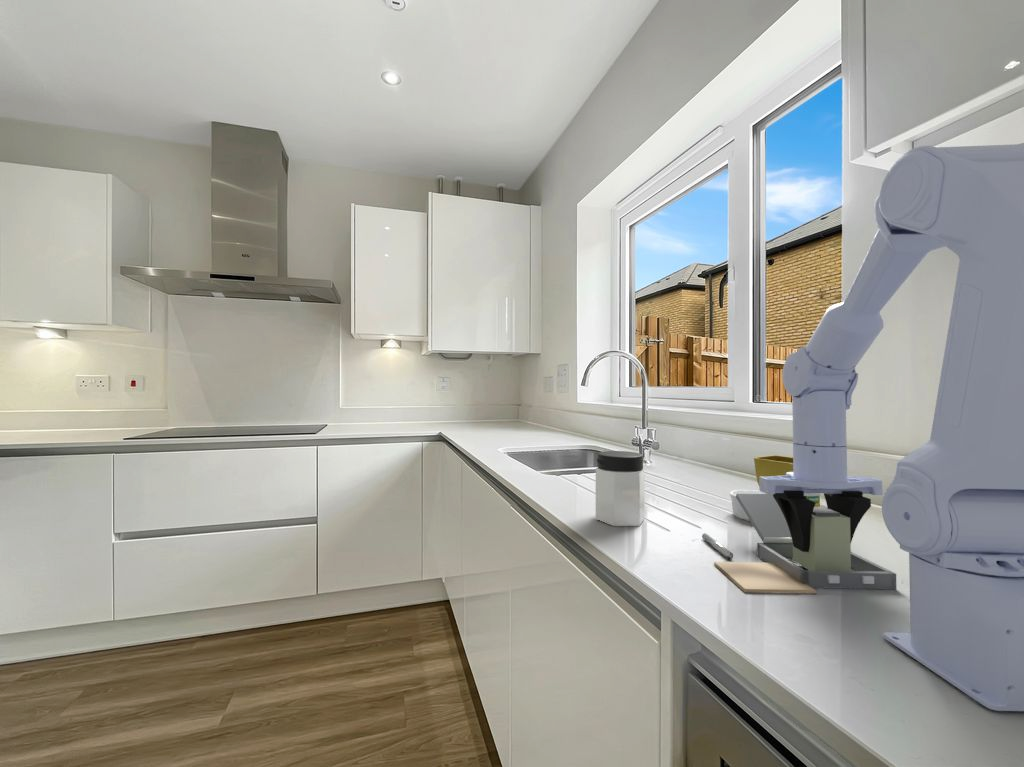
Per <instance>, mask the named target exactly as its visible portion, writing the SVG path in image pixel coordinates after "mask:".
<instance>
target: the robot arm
mask: <svg viewBox="0 0 1024 767" xmlns="http://www.w3.org/2000/svg"><path fill="white" fill-rule="evenodd" d="M873 204H874V206H873V207H874V208H873V210H874V212H873V213H874V219H875V222H876V226H877V227H878V229H877V232H876V234H875V235H874V238H873V240H872V242H871V244H870V246H869V248H868V251H867V253H866V255H865V257H864V259H863V261H862V264H861V266H860V267H859V269H858V272H857V273H856V275H855V278H854V280H853V283H852V284H851V286H850V289H849V290H848V293H847V295H846V297H845V299H844V301H842V302H839V303H836V304H833V305H830V306H829V307H828V308H826V311H825V312H824V314H823V316H822V317H821V320H820V321H819V323H818V324H817V326H816V328H815V330H814V331H813V334H812V335H811V337H810V338H809V340H808V342H807V343H806V346H802V347H801V346H800V347H799V348H798V349H797V351H794V352H791V353H789V355H788V356H787V357H786V359H785V362H784V363H783V367H782V373H781V375H782V376H781V378H782V384H783V387H784V390H785V391H786V392H787V394H789V395H790V396H792V399H791V400H792V402H791V403H792V406H791V407H792V455H793V456H792V457H793V475H782V476H766V477H759V485H758V486H759V490H758V491H761V492H764V493H766V494H773V497H774V499H775V500H776V502H777V503H778V505H779V507H780V509H781V511H782V513H783V515H784V517H785V519H786V522H787V525H788V527H789V531H790V534H791V537H792V541H793V546H794V547H795V548H797V549H799V550H801V551H802V552H809V547H810V523H811V517H812V513H813V509H814V506H815V504H816V503H815V502H814V501H811V500H808V499H807V496H804V493H820V494H823V495H824V496H823V497H824V500H825V502H826V506H827V507H826V508H828V509H831V510H833V511H836V512H839V513H840V514H841V515H844V516H847V517H849V518H850V542H851V543H852V541H853V538H854V536H855V532H856V530H857V527H858V525H859V524H860V522H861V520H862V519H863V517H864V516H865V514H866V513H867V512H868V511H869V510H870V508H871V507H872V499H871V498H870V497H869V498H868V497H867V496H863V495H873V496H883V497H882V501H881V513H882V518H883V522H884V525H885V527H886V529H887V530H888V532H889V533H890V535H891V536H892V538H893V539H894V540H895V541H896V543H897V544H899V549H900V550H902V551H903V552H907V553H908V564H909V566H908V567H909V569H908V570H909V571H908V572H909V574H908V575H909V627H910V631H909V632H894V631H893V632H890V631H889V632H887V631H886V632H884V633H883V638H884V639H885V640H886V641H887V642H890V644H892V645H894V646H895V647H897V648H898V649H899V650H900V651H903V652H904V653H906V655H908V656H910V657H911V658H913V659H914V660H916V661H917V662H919V663H920V664H922V666H924V667H926V668H927V669H929V670H930V671H932V672H934V673H935V674H936V675H938V676H940V677H941V678H942V679H944V680H946V682H948V683H949V684H951V685H953V686H954V687H956V688H957V689H959V690H960V691H961V692H963V693H964V694H966V695H967V696H969V697H970V698H972V699H973V700H975V701H976V702H978V703H979V704H981V705H982V706H984V707H986V708H987V709H989V710H992V711H995V712H1024V142H1022V143H1017V144H993V145H991V144H990V145H989V144H987V145H967V146H939V147H936V146H933V145H922V146H921V145H920V146H918V147H913V148H912V149H909V150H908V151H907V152H905V153H903V155H902V156H901V157H899V158H898V160H896V161H895V163H893V165H892V166H891V167H890V169H889V170H888V172H887V173H886V174H885V177H884V179H883V181H882V183H881V186H880V190H879V194H878V196H877V198H876V199H875V201H874V203H873ZM944 247H946V248H948V249H949V250H950V251H951V252H953V253H954V254H956V255H957V256H958V260H959V262H958V267H957V268H958V269H957V273H956V274H957V275H956V280H955V287H954V292H953V297H952V298H953V299H952V304H951V309H950V310H951V311H950V316H949V323H948V329H947V333H946V334H947V335H946V340H945V348H944V353H943V360H942V366H941V371H940V377H939V382H938V383H939V384H938V388H937V396H936V401H935V408H934V413H933V420H932V425H931V433H930V437H929V440H928V441H927V442H926V443H924V444H923V445H921V446H920V447H918V448H916V449H915V450H913V451H912V452H910V453H909V454H907V455H906V456H904V457H903V458H901V459H900V460H898V461H897V463H896V470H895V475H894V478H893V480H892V482H891V483H889V485H888V487H887V488H886V490H885V492H884V495H883V480H882V479H878V478H873V477H867V476H866V477H865V476H864V477H862V476H860V477H858V476H848V450H847V448H848V447H847V444H848V443H847V410H850V409H851V406H852V395H853V393H854V391H855V390H856V388H857V385H858V380H859V373H858V372H856V367H857V365H858V363H860V361H861V360H862V358H863V357H864V355H865V354H866V353H867V352H868V350H869V349H870V348H871V346H872V344H873V343H874V341H875V340H876V338H877V337H878V336H879V334H880V333H881V331H882V330H883V328H884V320H883V317H882V316H881V314H880V313H881V311H882V309H884V307H885V306H886V304H888V303H889V301H890V300H891V298H892V297H893V296H894V295H895V294H896V292H897V291H898V290H899V289H900V288H901V286H902V285H903V284H904V283H905V281H906V280H907V279H908V278H909V276H911V274H912V273H913V271H914V270H915V269H916V268H917V267H918V265H919V264H920V263H921V262H922V261H923V259H924V258H925V257H926V256H927V255H928V254H929V253H930V252H931V251H935V250H938V249H941V248H944ZM809 488H817V489H809Z"/></svg>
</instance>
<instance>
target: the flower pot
mask: <svg viewBox="0 0 1024 767" xmlns="http://www.w3.org/2000/svg"><path fill="white" fill-rule="evenodd" d="M753 460H754V461H753V462H754V469H755V470H754V471H755V477H756V481H757V485H758V486H759V477H766V476H782V475H786V473H787V472H793V456H785V455H777V454H776V455H775V454H771V455H764V456H756V457H754V458H753Z"/></svg>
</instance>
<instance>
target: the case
mask: <svg viewBox="0 0 1024 767" xmlns="http://www.w3.org/2000/svg"><path fill="white" fill-rule="evenodd" d="M756 547H757V548H756V550H757V554H756V555H757V557H758V558H760V559H762V560H763V561H764V562H765V563H773V564H774V565H776V566H777V567H779V568H780V569H782V570H783V571H785V572H786V573H788V574H789V575H791V576H792V577H793V578H795V579H796V580H798V581H799V582H801V583H802V584H807V585H809V586H810V587H812V588H813V589H856V590H857V589H864V590H865V589H869V590H870V589H875V590H897V573H896V572H894V571H891V570H890V569H888V568H885V567H883V566H882V565H879V564H877V563H875V562H873V561H871V560H869V559H866V558H864V557H862V556H860V555H858V554H856V553H854V552H852V551H851V569H853V570H851V571H814V570H808V569H804V568H802V566H801V567H800V566H799V565H797V563H794V562H792V561H791V560H790V559H789V558H791V559H793V544H788V543H763V542H757V544H756Z"/></svg>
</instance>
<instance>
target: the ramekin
mask: <svg viewBox="0 0 1024 767" xmlns="http://www.w3.org/2000/svg"><path fill="white" fill-rule="evenodd" d="M729 494H730V495H729V496H730V498H731V507H732V508H731V509H732V514H733V516H735V518H738V517H739V518H738V519H740V518H741V519H740V520H743V519H744V521H747V520H748V522H751V521H750V520H749V518H748V516H747V515H746V513H745V512H744V510H743V508H742V507H741V505H740V503H739V502H738V500H737V498H736V494H766V493H764V492H761V491H760V490H753V489H735V490H731V491H730V492H729Z"/></svg>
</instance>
